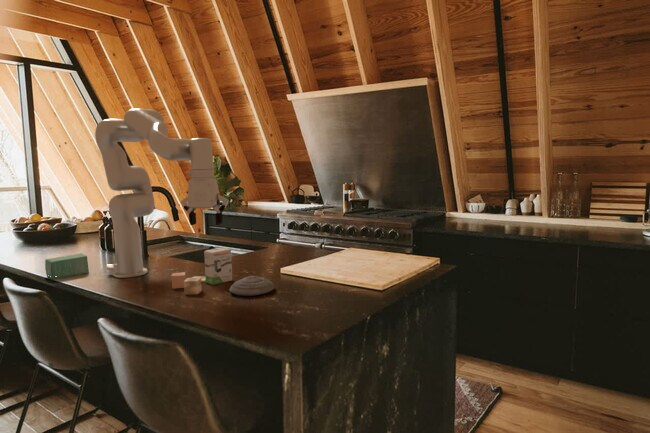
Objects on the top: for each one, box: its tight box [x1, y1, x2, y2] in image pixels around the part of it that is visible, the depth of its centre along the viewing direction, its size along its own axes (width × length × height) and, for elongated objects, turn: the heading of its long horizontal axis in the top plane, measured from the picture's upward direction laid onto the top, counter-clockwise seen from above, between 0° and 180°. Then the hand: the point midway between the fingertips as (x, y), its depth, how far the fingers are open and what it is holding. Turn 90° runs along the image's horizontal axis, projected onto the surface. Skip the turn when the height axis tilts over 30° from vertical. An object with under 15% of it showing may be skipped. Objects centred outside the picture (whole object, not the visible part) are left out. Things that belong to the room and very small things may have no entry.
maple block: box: [183, 277, 202, 295], centre depth 157 cm, size 4×4×4 cm
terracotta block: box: [171, 271, 187, 289], centre depth 164 cm, size 4×4×4 cm
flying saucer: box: [228, 275, 276, 297], centre depth 156 cm, size 15×15×6 cm
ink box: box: [203, 247, 233, 286], centre depth 169 cm, size 9×5×12 cm, turn 136°
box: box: [44, 253, 90, 280], centre depth 185 cm, size 7×14×8 cm, turn 137°
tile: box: [191, 275, 206, 283], centre depth 173 cm, size 6×6×1 cm
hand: (206, 224), depth 161 cm, fingers open, 9 cm apart
